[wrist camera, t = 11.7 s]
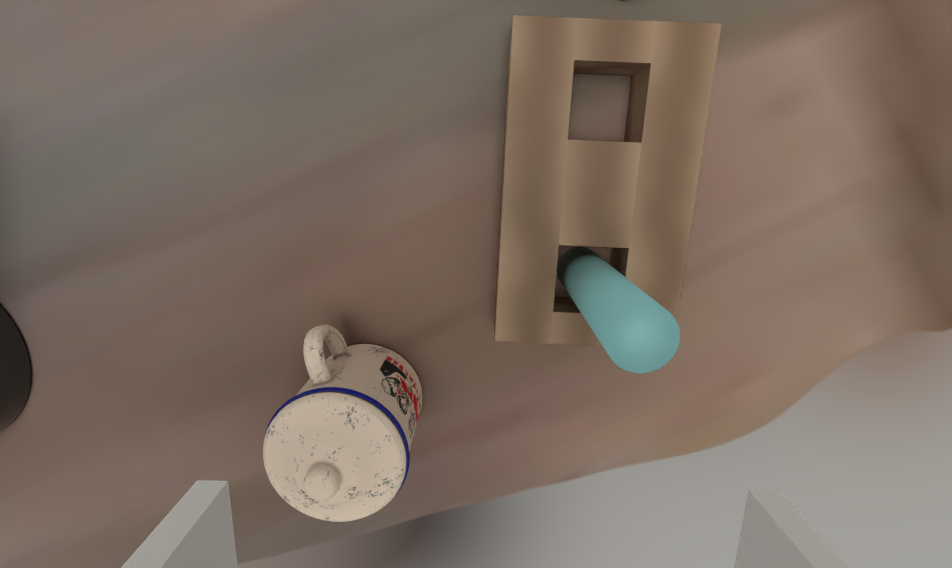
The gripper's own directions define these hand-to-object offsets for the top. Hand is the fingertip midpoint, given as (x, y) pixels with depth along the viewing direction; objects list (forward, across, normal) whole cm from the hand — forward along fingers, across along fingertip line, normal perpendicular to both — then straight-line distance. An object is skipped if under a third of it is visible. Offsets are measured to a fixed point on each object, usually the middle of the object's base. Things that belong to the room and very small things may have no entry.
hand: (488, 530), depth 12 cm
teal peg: (+24, +7, +2) cm, 25 cm away
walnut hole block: (+24, +8, +7) cm, 26 cm away
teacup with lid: (+25, -9, -7) cm, 27 cm away
